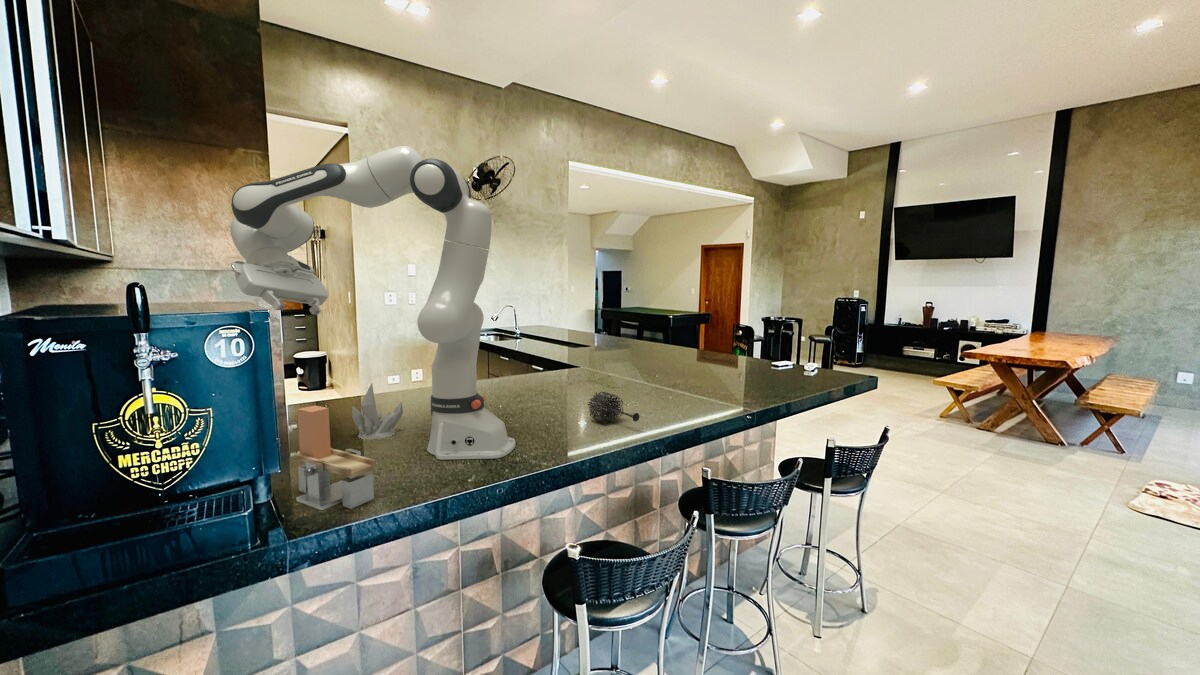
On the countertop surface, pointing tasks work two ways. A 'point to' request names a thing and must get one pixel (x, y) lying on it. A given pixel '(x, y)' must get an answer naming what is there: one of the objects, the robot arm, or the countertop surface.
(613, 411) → the massage brush
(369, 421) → the crystal
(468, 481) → the countertop surface
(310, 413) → the block
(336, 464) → the beam
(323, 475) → the fulcrum
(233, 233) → the robot arm
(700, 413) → the countertop surface
